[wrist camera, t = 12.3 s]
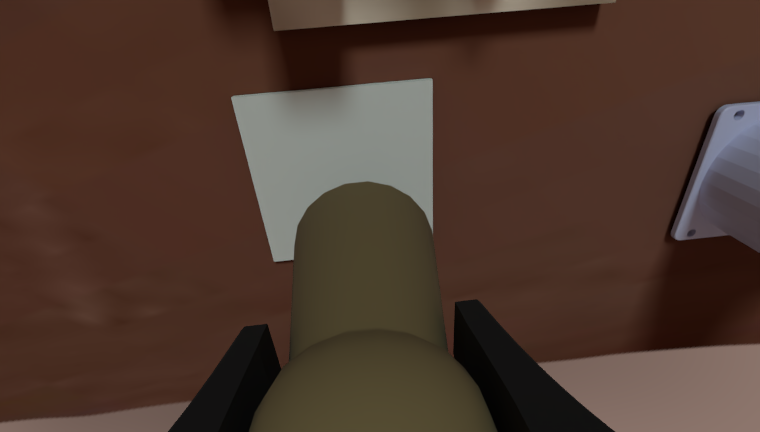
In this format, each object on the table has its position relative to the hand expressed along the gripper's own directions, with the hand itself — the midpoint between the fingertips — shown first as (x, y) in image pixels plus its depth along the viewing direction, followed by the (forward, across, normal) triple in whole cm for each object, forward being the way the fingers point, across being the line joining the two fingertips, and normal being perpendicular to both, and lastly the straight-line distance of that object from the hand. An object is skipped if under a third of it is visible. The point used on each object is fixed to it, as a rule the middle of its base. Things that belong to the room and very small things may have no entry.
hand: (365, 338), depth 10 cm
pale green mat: (+10, 0, 0) cm, 11 cm away
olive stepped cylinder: (+6, 0, +1) cm, 6 cm away
